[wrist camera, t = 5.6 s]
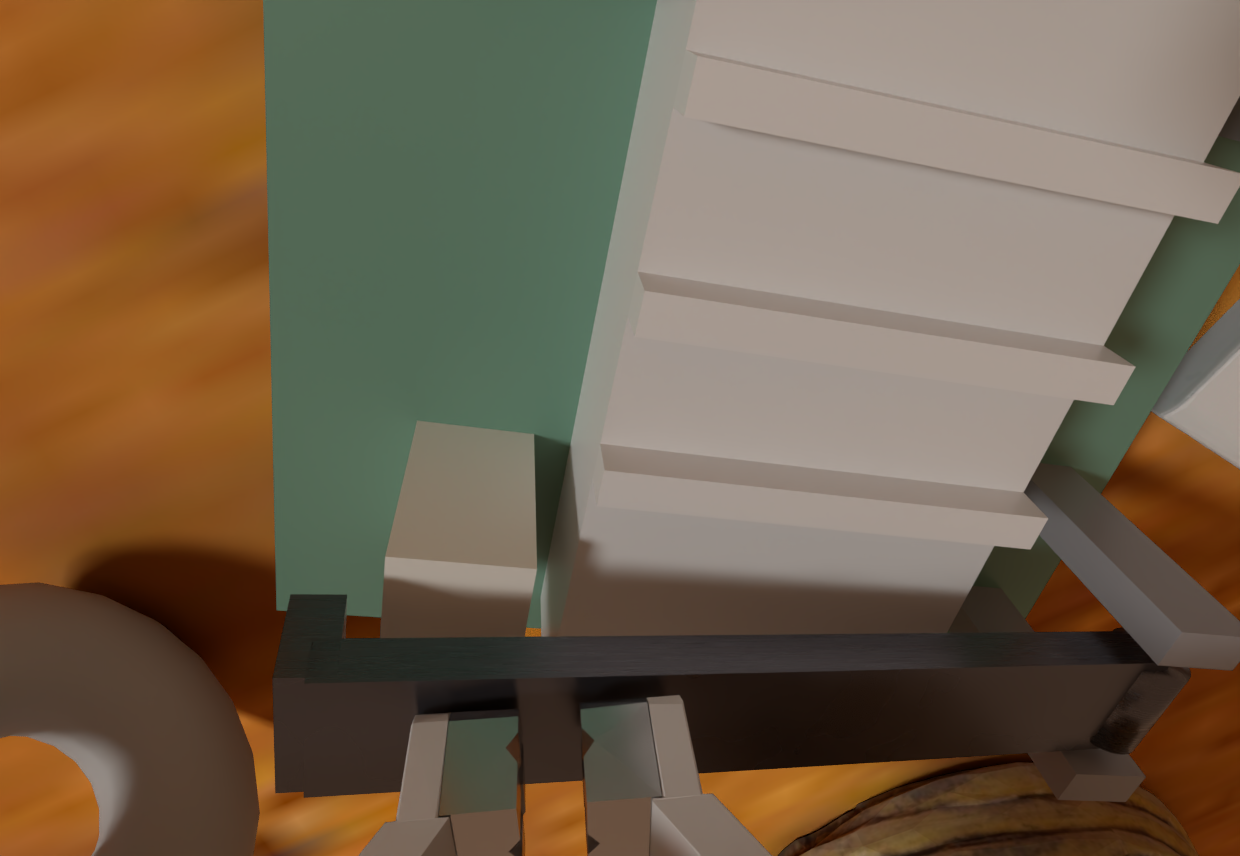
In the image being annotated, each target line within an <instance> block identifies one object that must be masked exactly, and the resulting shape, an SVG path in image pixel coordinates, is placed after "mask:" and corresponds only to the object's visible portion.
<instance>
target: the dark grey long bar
mask: <svg viewBox="0 0 1240 856" xmlns="http://www.w3.org/2000/svg"><path fill="white" fill-rule="evenodd" d="M346 614H347V595H335V594H290V599H289V603H288V608H287V613H286V617H285V622H284V627H283V632H282V636H281V641H280V646H279V650H278V655H277V660H276V664H275V669H274V674H273V716H274V753H275V791H276V793H287V792H304V798H305V797H322V796H338V795H354V794H370V793H387V792H401V786H402V779H403V773H404V767H405V760H406V754H407V748H408V742H409V735H410V729H411V724H412V722H413V720H414V717H415V715H421V714H436V713H451V712H469V711H489V710H509V709H520V717H521V743H522V744H523V748H524V763H525V784H533V783H549V782H566V781H582V755H581V728H580V703H585V702H596V701H607V700H618V699H628V698H639V697H645V699H646V698H648V697H661V696H674V695H680V697H681V699H682V700H683V703H684V708H685V713H686V717H687V722H688V727H689V732H690V736H691V741H692V746H693V751H694V755H695V760H696V765H697V770H698V773H712V772H728V771H744V770H761V769H777V768H793V767H809V766H826V765H842V764H858V763H875V762H891V761H907V760H923V759H940V758H956V757H972V756H988V755H1005V754H1021V753H1037V752H1053V751H1070V750H1086V749H1102V750H1105V751H1107V752H1110V753H1114V754H1120V755H1125V754H1129V753H1131V752H1133V751H1134V749H1135V748H1136V747H1137V746H1138V744H1139V743H1140V742H1141V741H1142V739H1143V738H1144V737H1145V735H1146V734H1147V733H1148V732H1149V730H1150V729H1151V728H1152V726H1153V725H1154V724H1155V723H1156V721H1157V720H1158V719H1159V717H1160V716H1161V715H1162V714H1163V712H1164V711H1165V710H1166V709H1167V707H1168V706H1169V705H1170V703H1171V702H1172V701H1173V700H1174V698H1175V697H1176V696H1177V694H1178V693H1179V692H1180V691H1181V689H1182V688H1183V687H1184V685H1185V684H1186V683H1187V682H1188V680H1189V679H1190V677H1191V672H1190V669H1189V668H1188V667H1174V666H1160V665H1157V664H1156V663H1155V662H1154V661H1153V660H1152V659H1151V658H1150V656H1149V655H1148V654H1147V653H1146V652H1145V651H1144V650H1143V649H1142V648H1141V646H1140V645H1139V644H1138V643H1137V642H1136V641H1135V640H1134V639H1133V638H1132V637H1131V635H1130V634H1129V633H1128V632H1127V631H1126V630H1125V629H1124V628H1116V629H1114V630H1113V631H1107V632H998V633H888V634H779V635H669V636H560V637H450V638H346Z"/></svg>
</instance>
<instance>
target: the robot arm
mask: <svg viewBox="0 0 1240 856" xmlns="http://www.w3.org/2000/svg"><path fill="white" fill-rule="evenodd" d="M580 728H581V755H582V780H583V795H584V807H585V824H586V843H587V856H772V855H771V854H770V853H769V852H768V851H767V850H766V849H765V848H764V847H763V846H762V845H761V844H760V843H759V842H758V841H757V840H756V839H755V837H754V836H753V835H752V834H751V833H750V832H749V831H748V830H747V829H746V828H745V827H744V826H743V825H742V824H741V823H740V822H739V821H738V820H737V819H736V818H735V816H734V815H733V814H732V813H731V812H730V811H729V810H728V809H727V808H726V807H725V806H724V805H723V804H722V803H721V802H720V801H719V800H718V799H717V798H716V797H715V796H714V794H702V789H701V784H700V779H699V774H698V770H697V765H696V760H695V755H694V751H693V746H692V741H691V736H690V732H689V727H688V722H687V717H686V713H685V708H684V703H683V700H682V699H681V697H680V695H674V696H661V697H648V698H646V699H645V697H639V698H628V699H618V700H607V701H596V702H585V703H580ZM524 813H525V763H524V748H523V744H522V743H521V717H520V709H509V710H489V711H469V712H451V713H436V714H421V715H415V717H414V720H413V722H412V724H411V729H410V735H409V742H408V748H407V754H406V760H405V767H404V773H403V779H402V786H401V792H400V798H399V805H398V811H397V817H396V821H394V822H386V823H384V825H383V826H382V827H381V828H380V830H379V831H378V832H377V833H376V835H375V836H374V837H373V838H372V840H371V841H370V842H369V843H368V844H367V846H366V847H365V848H364V849H363V851H362V852H361V853H360V854H359V856H525V833H524V821H523V814H524Z"/></svg>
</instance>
